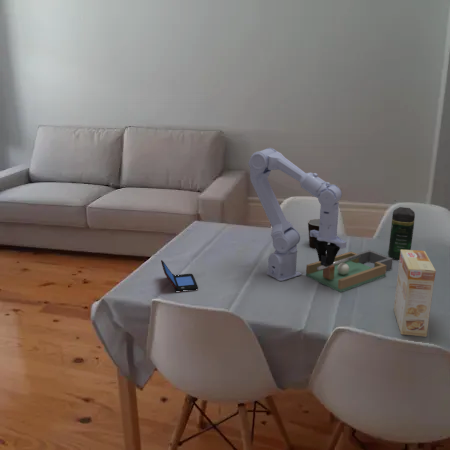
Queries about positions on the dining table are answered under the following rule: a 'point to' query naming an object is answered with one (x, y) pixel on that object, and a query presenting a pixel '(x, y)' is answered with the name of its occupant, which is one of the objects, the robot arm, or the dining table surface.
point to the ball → (343, 268)
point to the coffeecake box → (414, 292)
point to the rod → (332, 265)
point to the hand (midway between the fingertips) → (326, 262)
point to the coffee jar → (401, 231)
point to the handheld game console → (180, 280)
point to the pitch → (353, 270)
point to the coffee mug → (313, 225)
